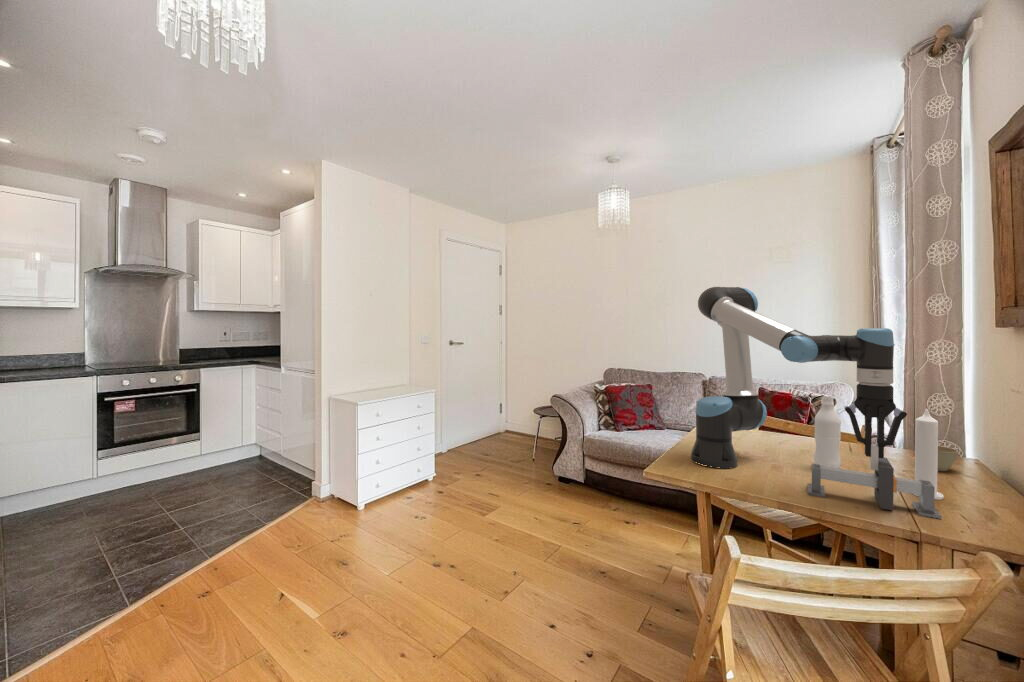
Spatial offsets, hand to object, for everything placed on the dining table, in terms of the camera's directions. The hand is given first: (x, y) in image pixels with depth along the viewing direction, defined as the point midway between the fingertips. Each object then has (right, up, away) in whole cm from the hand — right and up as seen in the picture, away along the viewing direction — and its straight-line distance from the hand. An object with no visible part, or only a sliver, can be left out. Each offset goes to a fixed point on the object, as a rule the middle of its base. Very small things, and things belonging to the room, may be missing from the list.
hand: (874, 468), depth 110 cm
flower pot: (+45, -9, +26) cm, 52 cm away
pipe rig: (-1, -9, +1) cm, 9 cm away
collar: (+2, -9, -1) cm, 10 cm away
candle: (+19, -9, +5) cm, 22 cm away
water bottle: (+8, -9, +26) cm, 29 cm away
